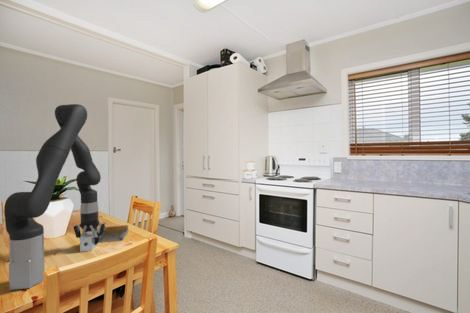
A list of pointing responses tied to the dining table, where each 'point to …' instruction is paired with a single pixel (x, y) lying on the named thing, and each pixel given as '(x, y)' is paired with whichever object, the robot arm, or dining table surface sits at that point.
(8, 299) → the dining table surface
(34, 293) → the dining table surface
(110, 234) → the grey channel bracket
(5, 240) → the dining table surface
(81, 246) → the grey metal block
